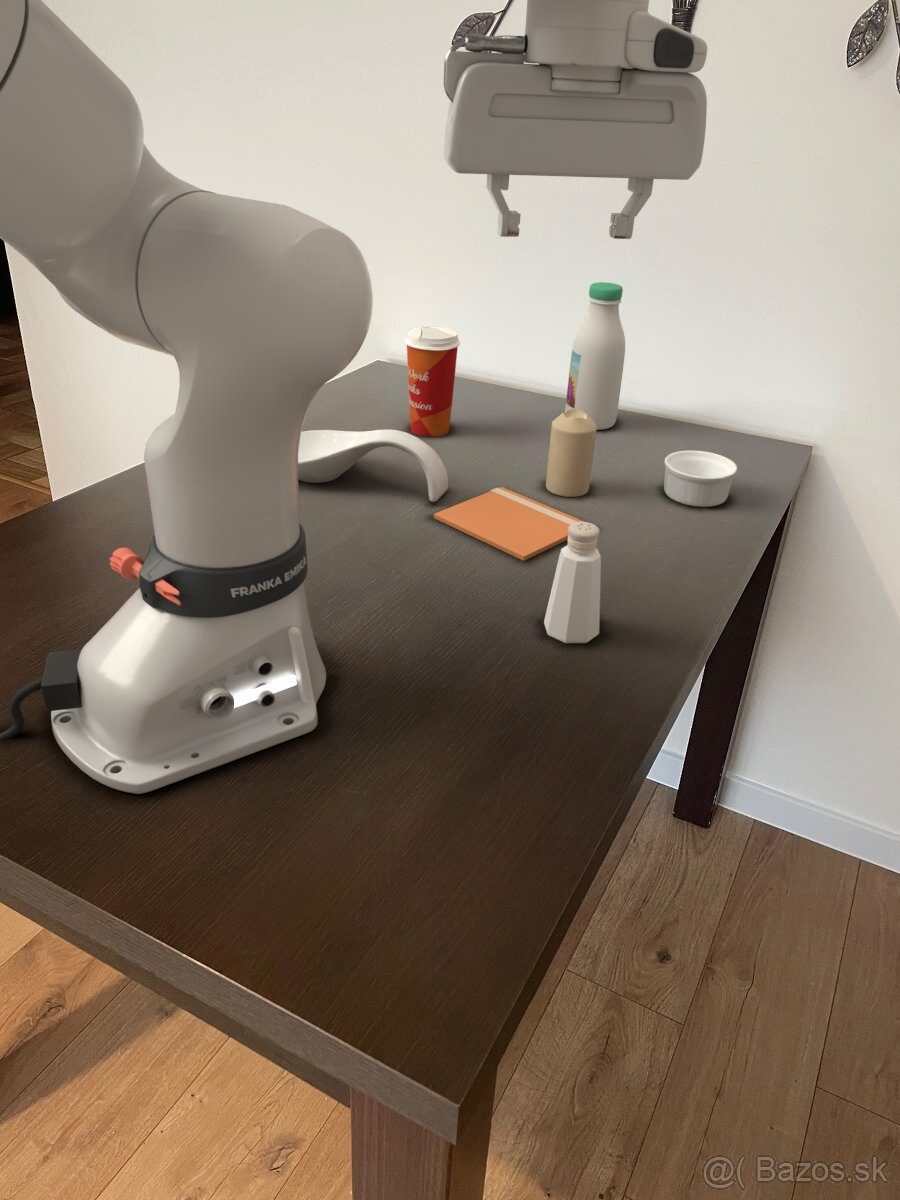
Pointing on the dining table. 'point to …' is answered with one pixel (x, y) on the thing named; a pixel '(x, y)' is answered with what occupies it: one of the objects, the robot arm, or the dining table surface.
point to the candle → (571, 454)
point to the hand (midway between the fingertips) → (564, 236)
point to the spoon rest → (339, 450)
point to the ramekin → (698, 478)
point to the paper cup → (431, 378)
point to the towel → (509, 522)
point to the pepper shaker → (576, 588)
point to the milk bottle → (598, 357)
